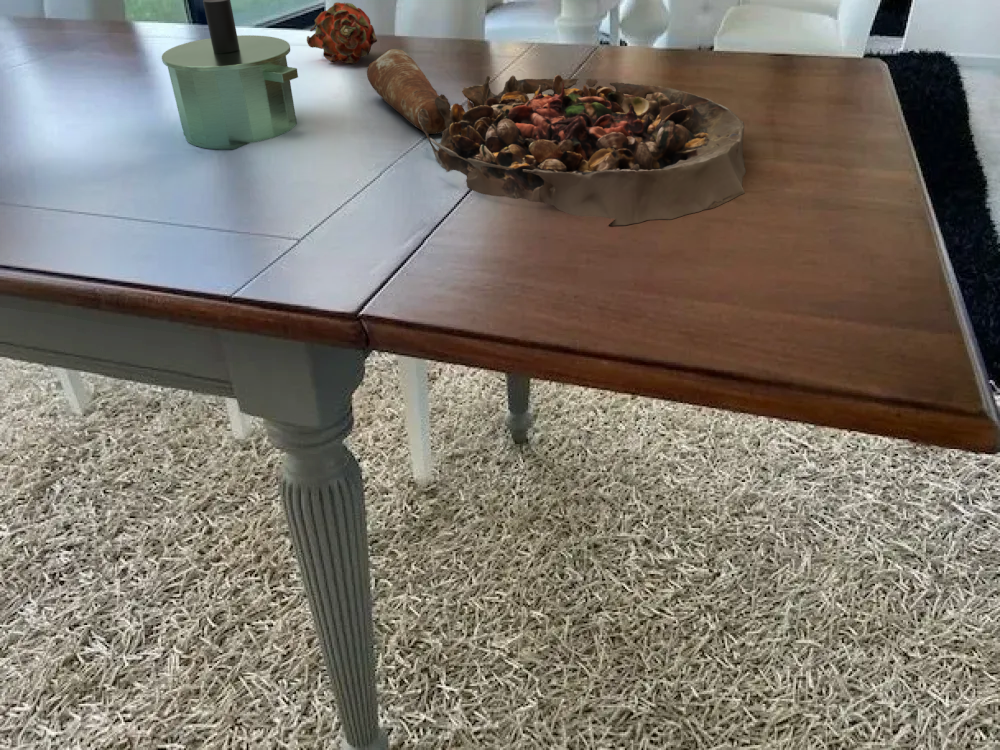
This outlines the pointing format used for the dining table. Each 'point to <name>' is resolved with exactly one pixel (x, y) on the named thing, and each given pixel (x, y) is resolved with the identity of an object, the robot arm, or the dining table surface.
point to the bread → (405, 88)
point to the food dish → (594, 148)
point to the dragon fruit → (343, 33)
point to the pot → (235, 104)
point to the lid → (224, 45)
